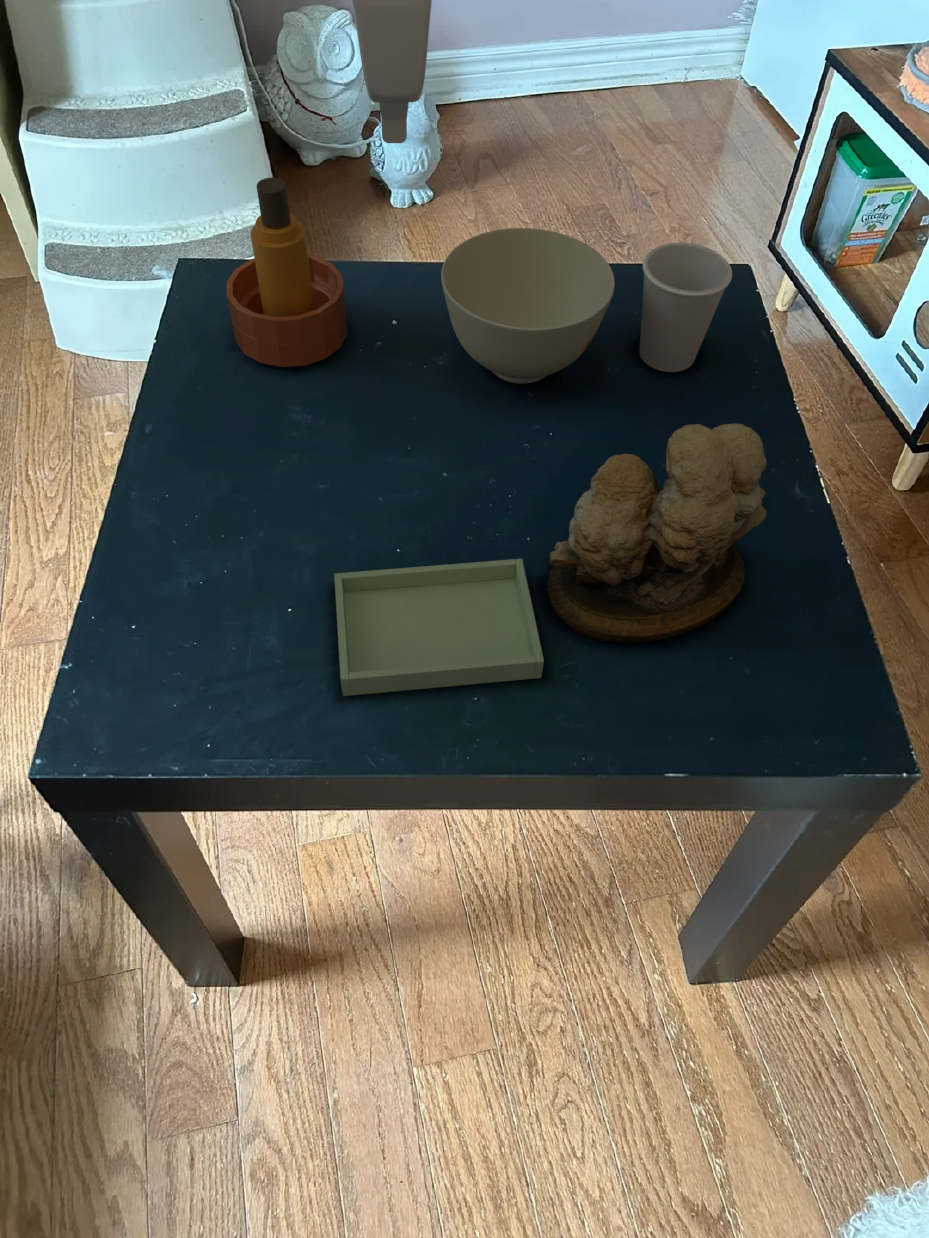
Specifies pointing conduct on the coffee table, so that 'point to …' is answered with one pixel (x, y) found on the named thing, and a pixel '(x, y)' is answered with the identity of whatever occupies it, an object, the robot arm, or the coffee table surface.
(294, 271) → the bottle
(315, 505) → the coffee table surface
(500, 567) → the tray
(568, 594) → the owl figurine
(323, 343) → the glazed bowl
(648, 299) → the dixie cup
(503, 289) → the bowl
